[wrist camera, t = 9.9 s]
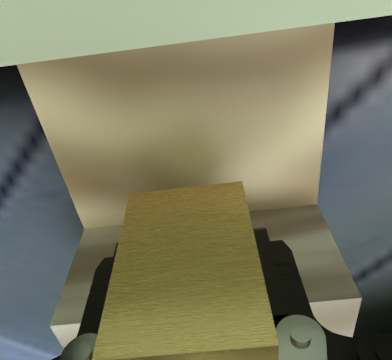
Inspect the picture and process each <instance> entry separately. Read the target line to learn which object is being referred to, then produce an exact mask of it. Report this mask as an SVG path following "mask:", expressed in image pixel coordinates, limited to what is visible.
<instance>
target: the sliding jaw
mask: <svg viewBox="0 0 392 360" xmlns="http://www.w3.org/2000/svg"><path fill="white" fill-rule="evenodd" d="M389 15H392V0H0V67H3V66H10V65H18V64H25V63H33V62H41V61H48V60H56V59H63V58H71V57H78V56H86V55H93V54H101V53H109V52H116V51H124V50H131V49H139V48H146V47H154V46H162V45H169V44H177V43H184V42H192V41H199V40H207V39H215V38H222V37H230V36H237V35H245V34H252V33H260V32H267V31H275V30H283V29H290V28H298V27H305V26H313V25H320V24H328V23H336V22H343V21H351V20H358V19H366V18H373V17H381V16H389Z"/></svg>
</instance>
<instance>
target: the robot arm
mask: <svg viewBox="0 0 392 360" xmlns="http://www.w3.org/2000/svg"><path fill="white" fill-rule="evenodd" d="M253 231H254V236H255V240H256V245H257V249H258V254H259V258H260V263H261V267H262V271H263V276H264V280H265V285H266V289H267V294H268V298H269V303H270V307H271V312H272V316H273V321H274V325H275V329H276V334H277V338H278V343H279V360H392V335H391V334H388V333H385V332H371V333H368V334H366V335H364V336H363V337H362V338H361V339H357V338H352V337H348V336H343V335H339V334H336V333H333V332H331V331H329V330H328V329H326V328H325V327H323V326H322V325H321V324H320V323H319V322H318V321H317V320H316V318H315V317H314V315H313V313H312V310H311V307H310V304H309V301H308V298H307V295H306V292H305V289H304V286H303V283H302V280H301V277H300V275H299V271H298V268H297V265H296V262H295V259H294V256H293V253H292V250H291V249H290V248H289V247H288V246H287V245H286V243H285V242H284V241H283V240H276V241H270V240H269V236H268V233H267V229H266V227H260V228H253ZM118 243H119V242H117V244H116V247H115V251H114V255H113V257H106V258H104V259H103V260H102V261H101V263H100V264H99V265H98V267H97V268H96V270H95V273H94V277H93V280H92V284H91V288H90V291H89V295H88V298H87V302H86V306H85V309H84V313H83V316H82V320H81V324H80V327H79V331H78V334H77V337H76V338H74V339H73V340H72V341H70V342H69V343H68V344H67V346H66V347H65V348H64V350H63V351H62V353H61V355H60V356H58V357H56V358H54V359H52V360H92V356H93V352H94V348H95V343H96V339H97V335H98V330H99V326H100V321H101V317H102V313H103V308H104V304H105V299H106V295H107V291H108V286H109V282H110V278H111V273H112V269H113V264H114V260H115V256H116V251H117V247H118Z"/></svg>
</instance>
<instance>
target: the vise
mask: <svg viewBox="0 0 392 360" xmlns="http://www.w3.org/2000/svg"><path fill="white" fill-rule="evenodd" d="M334 26H335V23H328V24H320V25H313V26H305V27H298V28H290V29H283V30H275V31H267V32H260V33H252V34H245V35H237V36H230V37H222V38H215V39H207V40H199V41H192V42H184V43H177V44H169V45H162V46H154V47H146V48H139V49H131V50H124V51H116V52H109V53H101V54H93V55H86V56H78V57H71V58H63V59H56V60H48V61H41V62H33V63H25V64H18V65H17V67H18V70H19V72H20V74H21V77H22V79H23V82H24V84H25V87H26V89H27V91H28V94H29V96H30V99H31V101H32V104H33V106H34V108H35V111H36V113H37V116H38V118H39V121H40V123H41V125H42V128H43V130H44V133H45V135H46V138H47V140H48V142H49V145H50V147H51V150H52V152H53V155H54V157H55V159H56V162H57V164H58V167H59V169H60V171H61V174H62V176H63V179H64V181H65V184H66V186H67V188H68V191H69V193H70V196H71V198H72V201H73V203H74V205H75V208H76V210H77V213H78V215H79V218H80V220H81V222H82V225H83V227H84V231H83V234H82V237H81V239H80V242H79V245H78V248H77V251H76V254H75V256H74V259H73V262H72V265H71V268H70V270H69V273H68V276H67V279H66V282H65V285H64V287H63V290H62V293H61V296H60V299H59V302H58V304H57V307H56V310H55V313H54V316H53V318H52V321H51V324H50V327H51V329H52V330H53V332H54V334H55V335H56V337H57V338H58V340H59V342H60V343H61V345H62V347H63V348H65V347H66V346H67V344H68V343H69V342H70V341H72V340H73V339H74V338H76V337H77V334H78V331H79V327H80V324H81V320H82V316H83V313H84V309H85V306H86V302H87V298H88V295H89V291H90V288H91V284H92V280H93V277H94V273H95V270H96V268H97V267H98V265H99V264H100V263H101V261H102V260H103V259H104V258H106V257H113V255H114V251H115V247H116V244H117V242H119V238H120V234H121V229H122V225H123V221H124V216H125V212H126V207H127V203H128V199H129V194H130V193H138V192H147V191H156V190H165V189H174V188H183V187H193V186H202V185H211V184H220V183H229V182H238V181H242V182H243V187H244V191H245V196H246V200H247V205H248V209H249V213H250V218H251V222H252V227H253V228H260V227H266V229H267V233H268V236H269V240H270V241H276V240H283V241H284V242H285V243H286V245H287V246H288V247H289V248H290V249H291V250H292V253H293V256H294V259H295V262H296V265H297V268H298V271H299V275H300V277H301V280H302V283H303V286H304V289H305V292H306V295H307V298H308V301H309V304H310V307H311V310H312V313H313V315H314V317H315V318H316V320H317V321H318V322H319V323H320V324H321V325H322V326H323V327H325V328H326V329H328V330H329V331H331V332H333V333H336V334H339V335H343V336H348V337H353V333H354V329H355V325H356V321H357V316H358V312H359V308H360V304H361V300H362V297H361V295H360V293H359V291H358V289H357V287H356V285H355V283H354V280H353V278H352V276H351V274H350V272H349V270H348V268H347V266H346V264H345V262H344V260H343V258H342V256H341V253H340V251H339V249H338V247H337V245H336V243H335V241H334V239H333V237H332V235H331V233H330V231H329V229H328V226H327V224H326V222H325V220H324V218H323V216H322V214H321V212H320V210H319V208H318V206H317V199H318V189H319V179H320V169H321V158H322V148H323V138H324V128H325V118H326V107H327V97H328V87H329V77H330V67H331V57H332V46H333V36H334Z"/></svg>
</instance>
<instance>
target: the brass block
mask: <svg viewBox="0 0 392 360" xmlns="http://www.w3.org/2000/svg"><path fill="white" fill-rule="evenodd" d="M92 360H279V343H278V338H277V334H276V329H275V325H274V321H273V316H272V312H271V307H270V303H269V298H268V294H267V289H266V285H265V280H264V276H263V271H262V267H261V263H260V258H259V254H258V249H257V245H256V240H255V236H254V231H253V227H252V222H251V218H250V213H249V209H248V205H247V200H246V196H245V191H244V187H243V182H242V181H238V182H229V183H220V184H211V185H202V186H193V187H183V188H174V189H165V190H156V191H147V192H138V193H130V194H129V199H128V203H127V207H126V212H125V216H124V221H123V225H122V229H121V234H120V238H119V243H118V247H117V251H116V256H115V260H114V264H113V269H112V273H111V278H110V282H109V286H108V291H107V295H106V299H105V304H104V308H103V313H102V317H101V321H100V326H99V330H98V335H97V339H96V343H95V348H94V352H93V356H92Z"/></svg>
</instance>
